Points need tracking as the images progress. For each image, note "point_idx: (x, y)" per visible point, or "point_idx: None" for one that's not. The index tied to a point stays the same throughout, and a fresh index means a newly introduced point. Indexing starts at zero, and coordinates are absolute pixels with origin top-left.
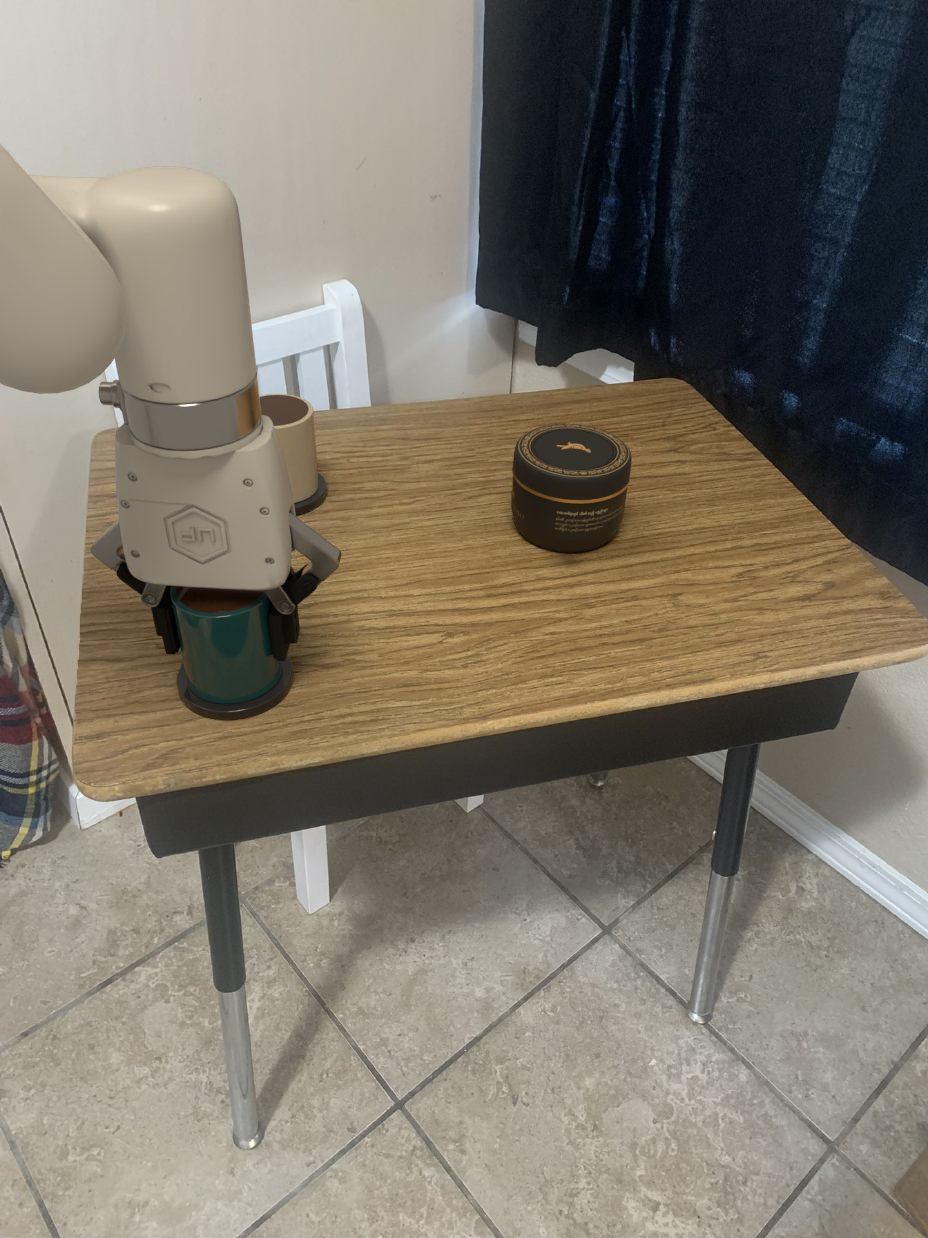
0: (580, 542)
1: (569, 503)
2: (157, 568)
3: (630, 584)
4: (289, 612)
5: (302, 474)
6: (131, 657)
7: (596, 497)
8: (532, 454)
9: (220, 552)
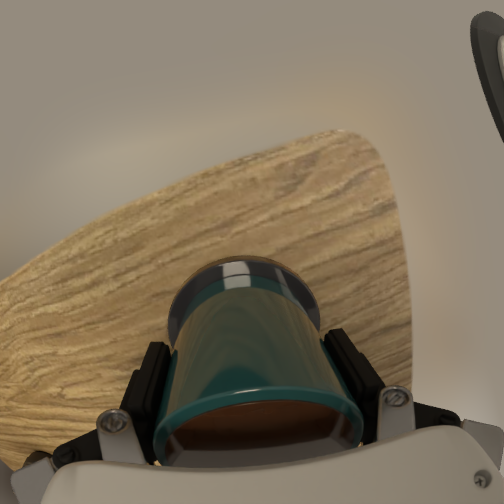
0: (35, 456)
1: None
2: (424, 475)
3: (3, 420)
4: (109, 412)
5: None
6: (374, 336)
7: None
8: None
9: None
